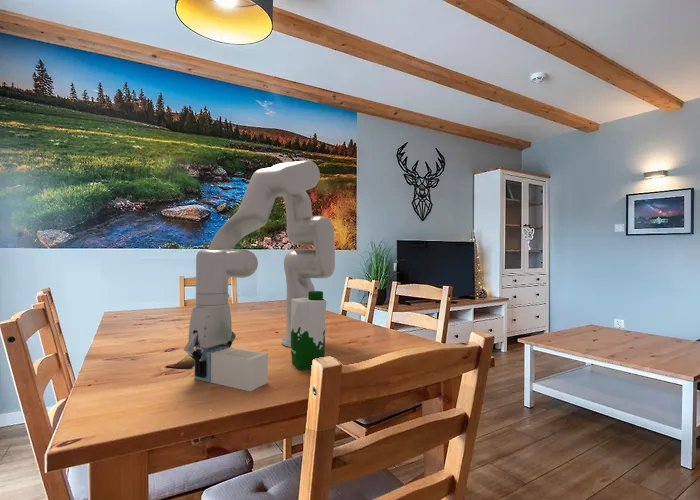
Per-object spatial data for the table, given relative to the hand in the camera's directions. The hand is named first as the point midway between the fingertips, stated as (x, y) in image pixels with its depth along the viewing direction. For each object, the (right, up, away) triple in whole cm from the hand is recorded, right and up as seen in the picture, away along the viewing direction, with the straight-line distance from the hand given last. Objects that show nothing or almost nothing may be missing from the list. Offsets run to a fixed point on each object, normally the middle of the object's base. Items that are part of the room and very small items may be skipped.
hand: (211, 371), depth 93 cm
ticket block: (+8, -1, -4) cm, 9 cm away
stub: (0, -1, 0) cm, 1 cm away
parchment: (-10, -2, +18) cm, 21 cm away
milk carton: (+23, -2, +10) cm, 25 cm away
